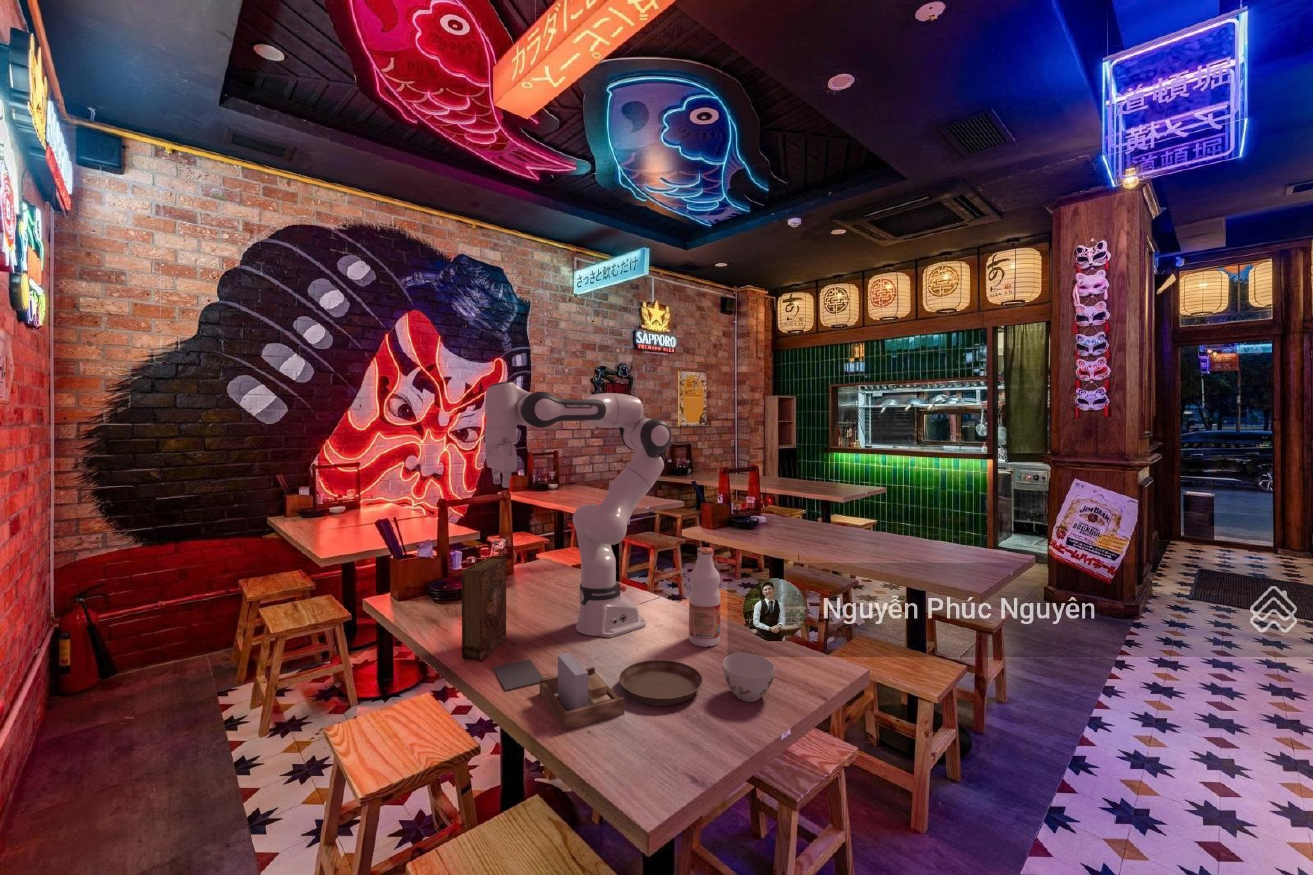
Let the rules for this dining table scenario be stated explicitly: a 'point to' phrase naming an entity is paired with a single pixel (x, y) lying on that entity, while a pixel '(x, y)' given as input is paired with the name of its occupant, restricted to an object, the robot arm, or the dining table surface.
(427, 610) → the dining table surface
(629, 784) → the dining table surface
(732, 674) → the teacup
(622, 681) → the plant saucer
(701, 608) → the fruit juice
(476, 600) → the book
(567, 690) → the block
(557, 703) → the brown open frame piece
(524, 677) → the mat
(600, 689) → the offcut short
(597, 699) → the block
